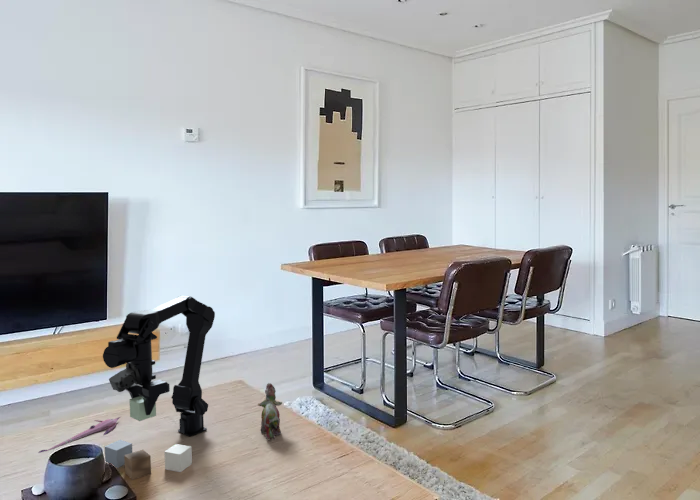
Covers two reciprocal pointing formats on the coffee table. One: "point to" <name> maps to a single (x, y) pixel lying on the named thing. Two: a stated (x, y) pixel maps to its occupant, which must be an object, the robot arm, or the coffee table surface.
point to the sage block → (140, 409)
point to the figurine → (270, 413)
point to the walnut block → (137, 464)
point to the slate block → (117, 452)
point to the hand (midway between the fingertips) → (143, 412)
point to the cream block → (178, 457)
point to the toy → (91, 431)
